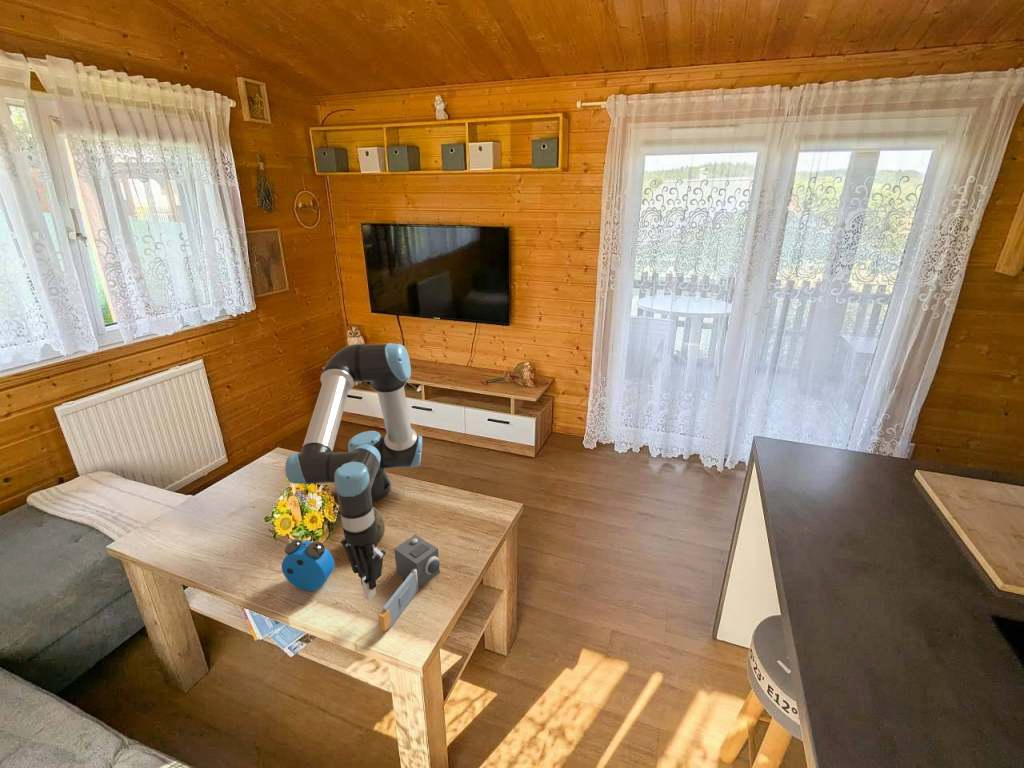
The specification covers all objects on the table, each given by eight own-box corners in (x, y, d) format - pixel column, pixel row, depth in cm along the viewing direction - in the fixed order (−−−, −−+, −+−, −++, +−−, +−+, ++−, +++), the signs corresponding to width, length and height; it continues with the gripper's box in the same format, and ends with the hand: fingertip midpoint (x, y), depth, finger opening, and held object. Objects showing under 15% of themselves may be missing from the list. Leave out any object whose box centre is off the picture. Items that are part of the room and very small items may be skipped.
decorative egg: (368, 561, 147) (362, 521, 142) (344, 548, 153) (338, 509, 147) (393, 541, 156) (389, 502, 150) (370, 529, 161) (365, 492, 156)
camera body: (397, 572, 143) (393, 546, 139) (417, 558, 148) (415, 532, 145) (422, 591, 136) (420, 564, 132) (443, 574, 142) (441, 548, 138)
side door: (386, 635, 122) (383, 613, 120) (381, 633, 123) (378, 611, 120) (419, 589, 136) (417, 569, 134) (415, 588, 137) (413, 567, 134)
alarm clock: (338, 579, 140) (330, 537, 135) (327, 595, 135) (319, 552, 129) (297, 573, 143) (288, 532, 137) (285, 589, 137) (275, 547, 131)
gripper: (390, 522, 116) (399, 595, 125) (351, 506, 122) (362, 576, 131) (367, 541, 110) (379, 616, 119) (327, 523, 116) (341, 596, 125)
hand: (370, 595), depth 125 cm, fingers closed
